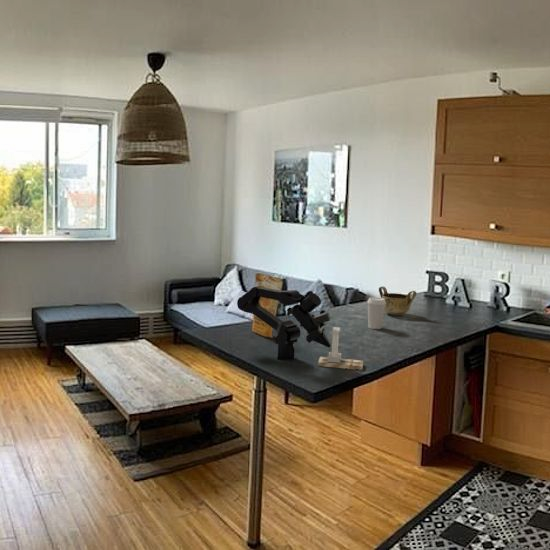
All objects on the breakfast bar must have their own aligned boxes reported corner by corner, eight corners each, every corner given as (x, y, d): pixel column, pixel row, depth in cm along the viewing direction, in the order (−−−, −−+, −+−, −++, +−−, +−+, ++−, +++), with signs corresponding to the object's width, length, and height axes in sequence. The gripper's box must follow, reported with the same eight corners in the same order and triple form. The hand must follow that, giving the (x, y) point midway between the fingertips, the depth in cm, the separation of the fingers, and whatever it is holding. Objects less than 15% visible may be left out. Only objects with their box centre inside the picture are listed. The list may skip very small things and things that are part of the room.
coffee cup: (383, 326, 317) (385, 297, 314) (384, 330, 307) (387, 301, 305) (364, 324, 318) (366, 296, 315) (365, 329, 308) (367, 299, 306)
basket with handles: (419, 315, 347) (422, 289, 344) (406, 320, 333) (408, 293, 331) (384, 309, 360) (386, 284, 358) (370, 313, 347) (372, 287, 345)
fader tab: (327, 361, 242) (329, 330, 240) (328, 356, 249) (330, 326, 247) (339, 362, 241) (341, 331, 240) (341, 358, 248) (343, 327, 246)
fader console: (317, 365, 242) (318, 362, 242) (320, 360, 251) (320, 356, 250) (362, 370, 240) (362, 366, 239) (363, 364, 248) (363, 360, 247)
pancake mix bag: (258, 328, 299) (260, 272, 295) (281, 337, 284) (284, 278, 280) (246, 330, 295) (249, 272, 291) (269, 339, 280) (272, 278, 276)
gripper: (316, 309, 234) (343, 339, 234) (321, 300, 252) (347, 328, 252) (294, 327, 237) (321, 357, 236) (302, 317, 255) (326, 345, 254)
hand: (330, 346), depth 245 cm, fingers closed
